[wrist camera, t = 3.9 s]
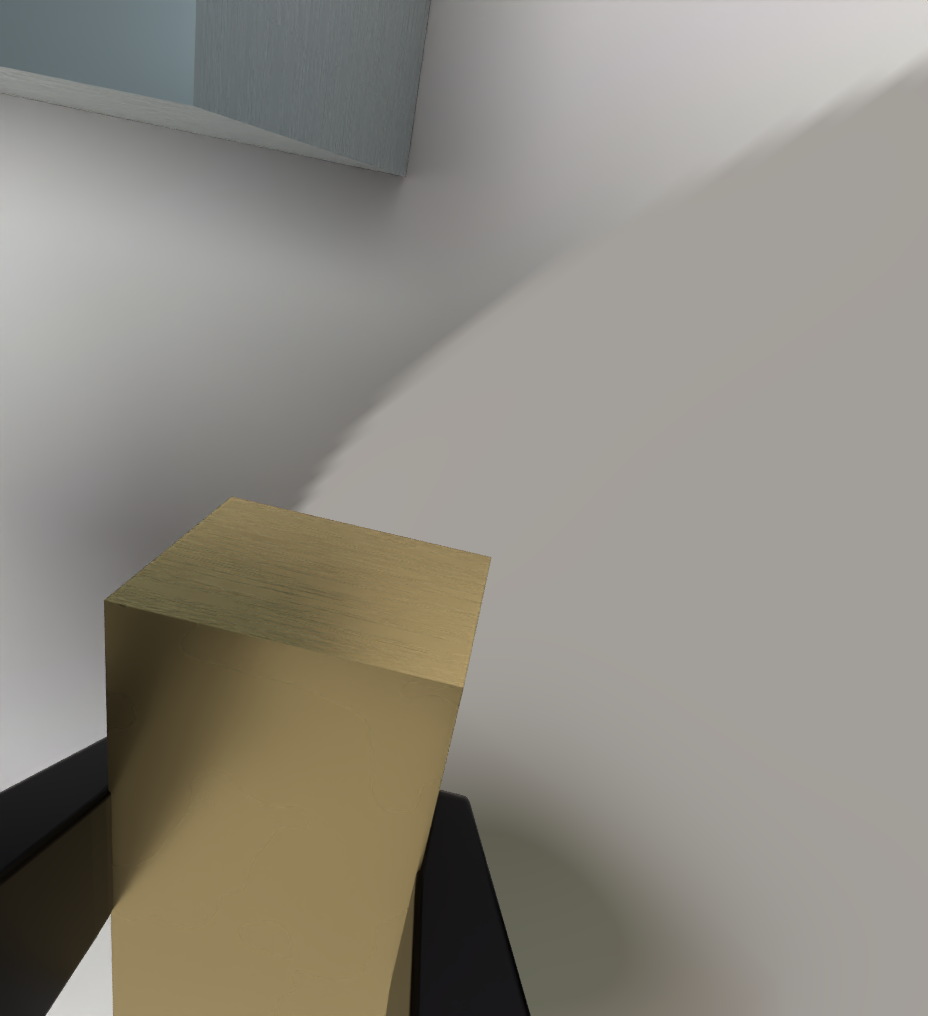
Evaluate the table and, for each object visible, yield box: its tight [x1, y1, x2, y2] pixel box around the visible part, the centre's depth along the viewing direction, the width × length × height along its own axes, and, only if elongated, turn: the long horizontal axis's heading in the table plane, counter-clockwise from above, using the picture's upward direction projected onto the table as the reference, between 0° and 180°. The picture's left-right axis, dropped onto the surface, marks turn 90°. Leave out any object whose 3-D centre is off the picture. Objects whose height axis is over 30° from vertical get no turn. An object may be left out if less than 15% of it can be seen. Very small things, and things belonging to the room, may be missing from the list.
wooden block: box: [104, 497, 491, 1016], centre depth 8 cm, size 6×3×2 cm, turn 169°
